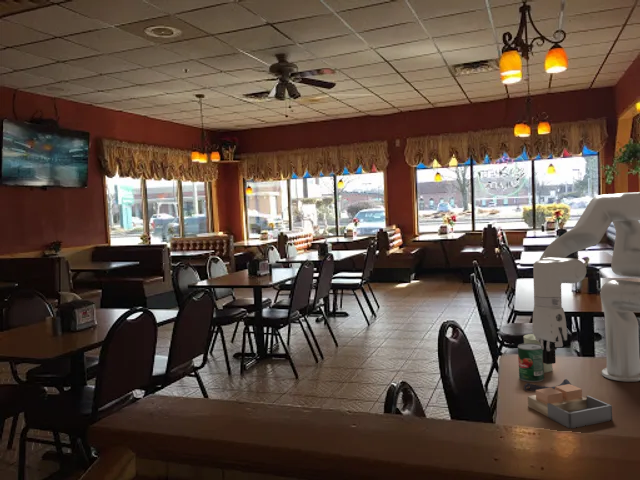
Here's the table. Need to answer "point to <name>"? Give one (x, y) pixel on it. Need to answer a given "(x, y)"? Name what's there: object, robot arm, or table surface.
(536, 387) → the bracket
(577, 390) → the tile
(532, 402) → the board
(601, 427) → the table surface
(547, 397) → the tile
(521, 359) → the canned tomato
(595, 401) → the bus tub
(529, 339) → the can
